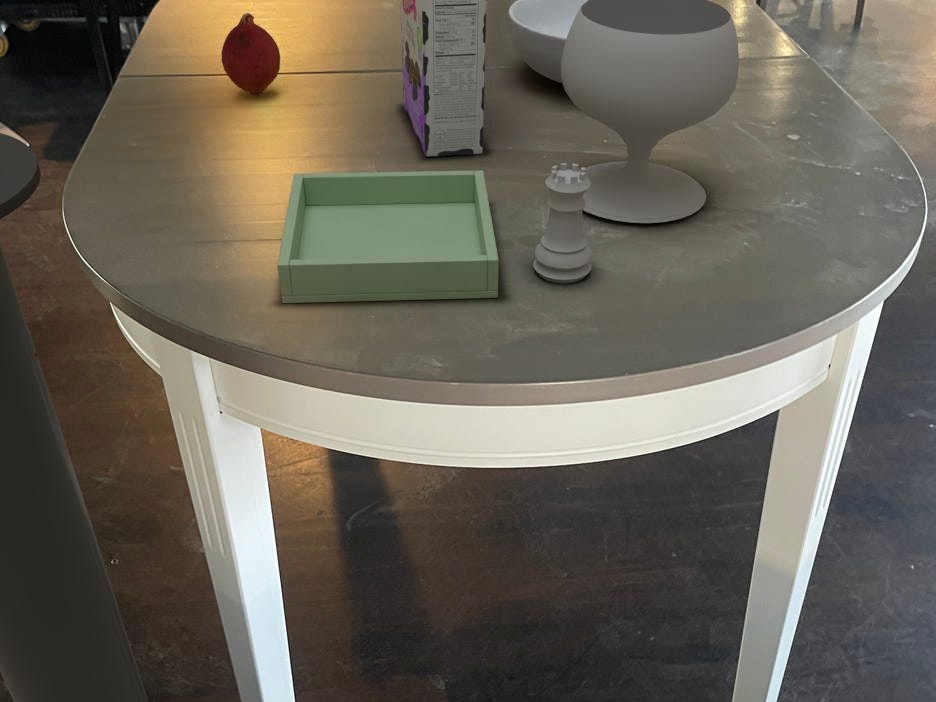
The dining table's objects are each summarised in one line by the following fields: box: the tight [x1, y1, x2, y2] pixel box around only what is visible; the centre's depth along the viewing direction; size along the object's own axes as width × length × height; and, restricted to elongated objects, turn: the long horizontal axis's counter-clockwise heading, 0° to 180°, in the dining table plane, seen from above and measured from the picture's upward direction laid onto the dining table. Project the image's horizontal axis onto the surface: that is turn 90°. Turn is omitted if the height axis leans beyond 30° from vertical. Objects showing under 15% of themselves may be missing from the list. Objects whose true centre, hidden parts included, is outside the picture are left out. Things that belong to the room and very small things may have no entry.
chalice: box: [561, 0, 740, 224], centre depth 83 cm, size 14×14×15 cm
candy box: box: [399, 0, 488, 158], centre depth 94 cm, size 14×6×16 cm, turn 12°
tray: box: [277, 170, 500, 304], centre depth 78 cm, size 16×16×3 cm
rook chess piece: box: [532, 162, 592, 284], centre depth 75 cm, size 4×4×8 cm
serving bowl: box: [507, 0, 589, 84], centre depth 108 cm, size 21×21×7 cm
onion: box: [220, 12, 281, 97], centre depth 103 cm, size 6×6×8 cm
